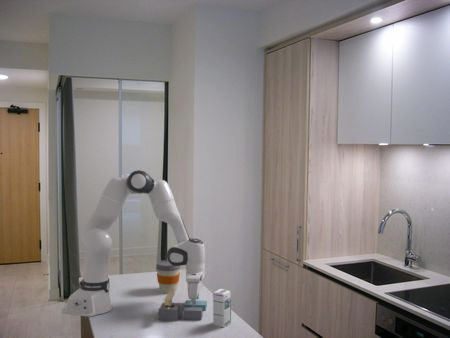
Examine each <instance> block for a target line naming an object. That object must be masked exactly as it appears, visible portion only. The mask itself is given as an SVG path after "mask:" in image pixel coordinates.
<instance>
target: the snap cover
mask: <svg viewBox="0 0 450 338" xmlns="http://www.w3.org/2000/svg"><path fill="white" fill-rule="evenodd" d="M185 307H197V308H202V312H204V311H205V312H206V310H207V307H208V301H207V300H196V306H192V301H191V299H186V300H185V302H184V304H183V309H184V308H185Z"/></svg>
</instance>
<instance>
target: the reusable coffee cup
mask: <svg viewBox="0 0 450 338" xmlns="http://www.w3.org/2000/svg"><path fill="white" fill-rule="evenodd" d="M155 267H156V268H155V269H156V272H157V273H156V277H157V279H156V280H157V283H158V288H159V292H160V294H168V293H169V291H170V289H175V293H176V292H177V291H178V283H179V282H180V274H181V273H180V269H181V266H173V265H171V264H170V263H169V262H168V260H167V259H163V260H159V261H157V262H156V266H155Z"/></svg>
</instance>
